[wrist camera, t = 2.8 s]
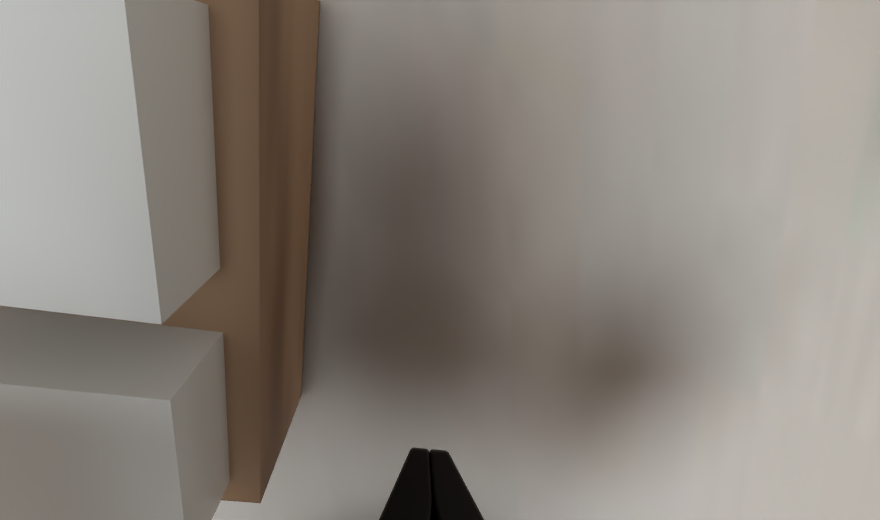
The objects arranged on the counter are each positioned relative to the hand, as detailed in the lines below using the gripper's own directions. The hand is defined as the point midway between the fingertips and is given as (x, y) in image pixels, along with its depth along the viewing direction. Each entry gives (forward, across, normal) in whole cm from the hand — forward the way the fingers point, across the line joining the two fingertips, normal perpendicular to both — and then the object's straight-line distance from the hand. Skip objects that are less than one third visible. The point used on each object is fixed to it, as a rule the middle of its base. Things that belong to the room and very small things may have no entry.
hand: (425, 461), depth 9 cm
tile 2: (+1, +7, -6) cm, 9 cm away
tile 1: (+1, +7, 0) cm, 7 cm away
